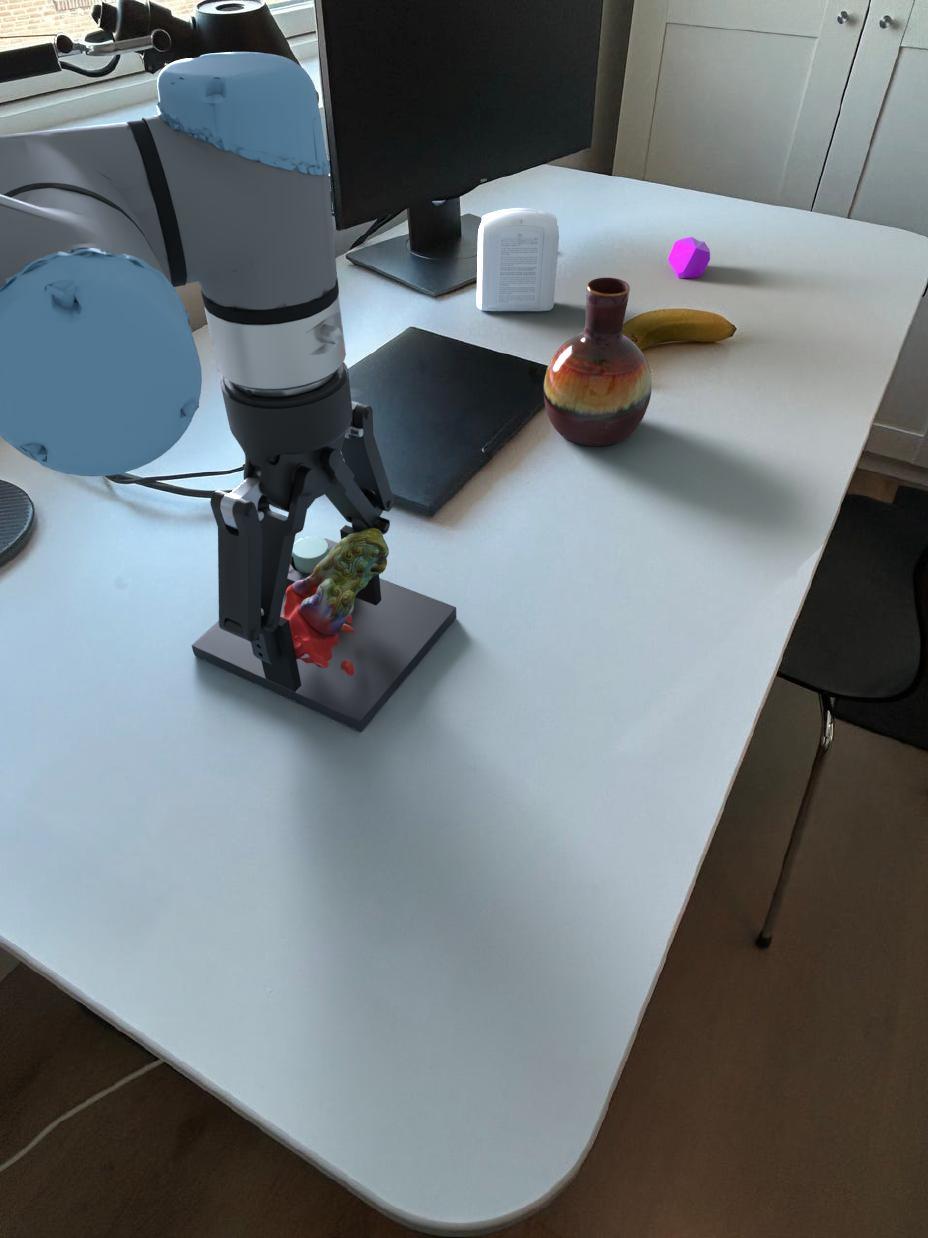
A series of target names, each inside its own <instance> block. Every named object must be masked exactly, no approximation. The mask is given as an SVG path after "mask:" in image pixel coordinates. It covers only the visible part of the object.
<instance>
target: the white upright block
mask: <svg viewBox="0 0 928 1238" xmlns="http://www.w3.org/2000/svg"><path fill="white" fill-rule="evenodd" d="M481 216H482V217H481V222H480V224H479V227H478V232H477V263H476V264H477V267H476V268H477V269H476V270H477V272H476V307H477V309H479V311H482V312H483V311H485V312H546V311H551V310H552V309H553V308H554V305H555V304H554V303H555V295H556V293H555V292H556V280H557V268H558V258H559V257H558V256H559V241H560V230H559V225H558V218H557V216H556V215H555V214H552V213H551V212H548V211H544V210H540V209H535V208H529V207H527V208H526V207H513V208H511V207H510V208H505V209H504V208H503V209H499V210H495V211H492V212H489V213H486V214H484V215H481Z"/></svg>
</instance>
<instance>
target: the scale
mask: <svg viewBox="0 0 928 1238" xmlns="http://www.w3.org/2000/svg"><path fill="white" fill-rule="evenodd" d="M322 538H323V537H322ZM323 539H325V540H326V541H327V543H328V546H329V552H330V550H331V549H332V548H333V547H335V546H336V545H337V544H338V542H337V541H335V540H332V539H328V538H323ZM310 575H311V574H304V573H301V572H299V571H298V570H297V569H296V567H295V564H294V558H293V552H292V556H291V562H290V567H289V572H288V577H287V583H286V588H285V593H284V599H283V604H282V609H281V614H280V616H282V615H284V605H285V602H286V590H287V588H288V587H289V586H290V585H292V584H294V583H295V582H296V581H299V580H304V579H306V578H307V577H309V576H310ZM379 579H380V590H381V601H380V602H379V603H378V604H377V606H376V605H373V604H371V603H368V602H366V601H363V600H360V599H358V598H355V600H354V609H353V612H352V614H351V615H352V623H349V622H347V621H346V622H345V623H344V624H347V625H349V626H350V627H351V628H353V629H354V631H355V632H351V633H350V632H343V631H338V632H337V634H338V638H339V642H338V644H337V645H336V646H334V647H333V648H332V650H331V651H332V658H331V660H329V661H327V662H328V664H329V665H328V667H327V668H323V667H321V668H320V667H318V666H317V665H316V664H315V663H305V662H304V661H302V660H301V659H297V664H298V669H299V674H300V680H301V687H300V688H299V689H298V690H297V691H296V692H294V691H292V690H289V689H287V688H285V687H283V686H281V685H278V684H276V683H274V682H272V681H270V680H267V679H265V674H264V670H263V666H262V662H261V660H260V659H258V658H256V657H255V656H254V655H253V650H252V646H251V645H252V644H251V642H250V641H247V640H245V639H243V638H240V637H238V636H236V635H234V634H231V633H229V632H227V631H225V630H222V629H221V628H220V627H219V620H218V621H217V622H215V624H213V625H212V626H211V627H210V628H209V629H208V630H207V631H205V632H204V633H203V634H202V635H201V636H199V638H198V639H197V640H196V641H194V642H193V643H192V644H191V650H192V652H193V655H194V657H196V658H198V659H201V660H203V661H205V662H206V663H209V664H211V665H214V666H216V667H218V668H220V669H222V670H225V671H227V672H228V673H231V674H233V675H235V676H237V677H239V678H241V679H244V680H247V681H248V682H251V683H252V684H255V685H257V686H259V687H261V688H264V689H266V690H268V691H270V692H272V693H275V694H277V695H279V696H280V697H283V698H286V699H287V700H290V701H292V702H293V703H296V704H299V705H300V706H303V707H304V708H307V709H309V710H311V711H313V712H316V713H318V714H320V715H321V716H322V715H323V716H325V717H327V718H329V719H332V720H333V721H335V722H338V723H340V724H342V725H344V726H347V727H348V728H351V729H352V730H355V731H357V732H359V733H363V731H364V730H365V729H366V727H367V726H368V725H369V724H370V723H371V722H372V720H373V719H374V718H375V717H376V716H377V715H378V713H379V712H380V711H381V709H382V708H383V707H384V706H385V704H386V703H387V702H388V701H389V700H390V699H391V697H392V696H393V695H394V694H395V692H396V691H397V690H398V689H399V688H400V687H401V685H403V683H404V682H405V680H406V679H407V678H408V677H409V676H410V675H411V673H412V672H413V671H414V670H415V669H416V667H417V666H418V665H419V664H420V662H422V660H423V659H424V658H425V657H426V655H427V654H428V653H429V651H431V649H432V648H433V647H434V646H435V644H436V643H437V642H438V640H439V639H440V638H441V637H442V636H443V635H444V633H445V632H446V630H448V629H449V628H450V626H451V625H452V624H453V623H454V622H455V620H456V619H457V606H454V605H451V604H449V603H446V602H443V601H441V600H439V599H435V598H433V597H430V596H427V595H425V594H423V593H419V592H417V591H415V590H412V589H410V588H408V587H407V588H406V587H404V586H401V585H399V584H396V583H393V582H390V581H388V580H386V579H383V578H380V577H379ZM308 657H310V656H309V654H305V655H303V656H302V657H301V658H308ZM345 659H348V660H349V661H350V662H351V663H352V665H353V667H354V674H353V675H352V676H350V674H348V673H346V672H345V671H344V670H343V669H341V662H343V661H344V660H345ZM347 674H348V675H349V676H348V675H347Z"/></svg>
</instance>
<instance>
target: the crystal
mask: <svg viewBox="0 0 928 1238" xmlns="http://www.w3.org/2000/svg"><path fill="white" fill-rule="evenodd" d="M667 261H668V263H669V265H670V267H671V268H672V270H673V272H674V274H675V276H676V277H677V278H678V279H691V278H693V279H694V278H700V277H701V276H702V275H703V274H704V273H705V270H706V268H707V267H708V264H709V263H710V261H711V250H710V248H709V247H708V245H707V243H706V241H701V240H699V239H697V238H695V237H693V236H688V237H684V238H680V239H678V240H675V242H674V243H673V245H672V248H671V250H670V253H669V256H668V257H667Z"/></svg>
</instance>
